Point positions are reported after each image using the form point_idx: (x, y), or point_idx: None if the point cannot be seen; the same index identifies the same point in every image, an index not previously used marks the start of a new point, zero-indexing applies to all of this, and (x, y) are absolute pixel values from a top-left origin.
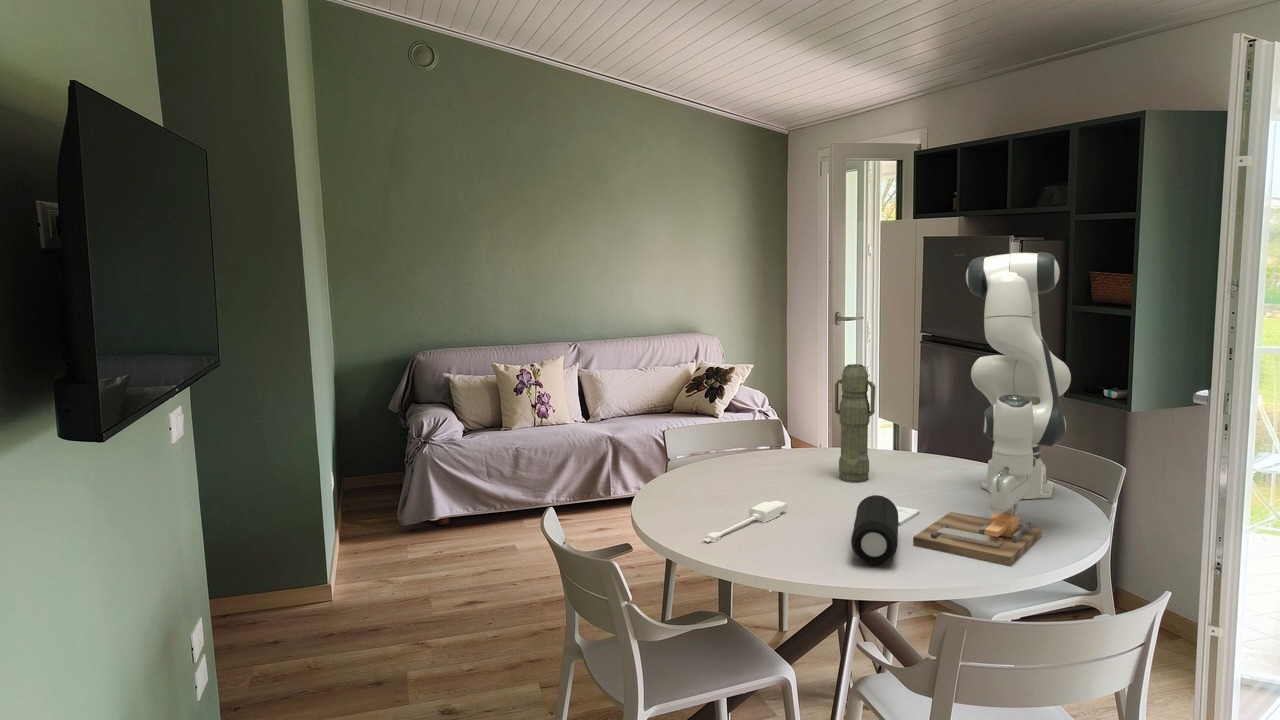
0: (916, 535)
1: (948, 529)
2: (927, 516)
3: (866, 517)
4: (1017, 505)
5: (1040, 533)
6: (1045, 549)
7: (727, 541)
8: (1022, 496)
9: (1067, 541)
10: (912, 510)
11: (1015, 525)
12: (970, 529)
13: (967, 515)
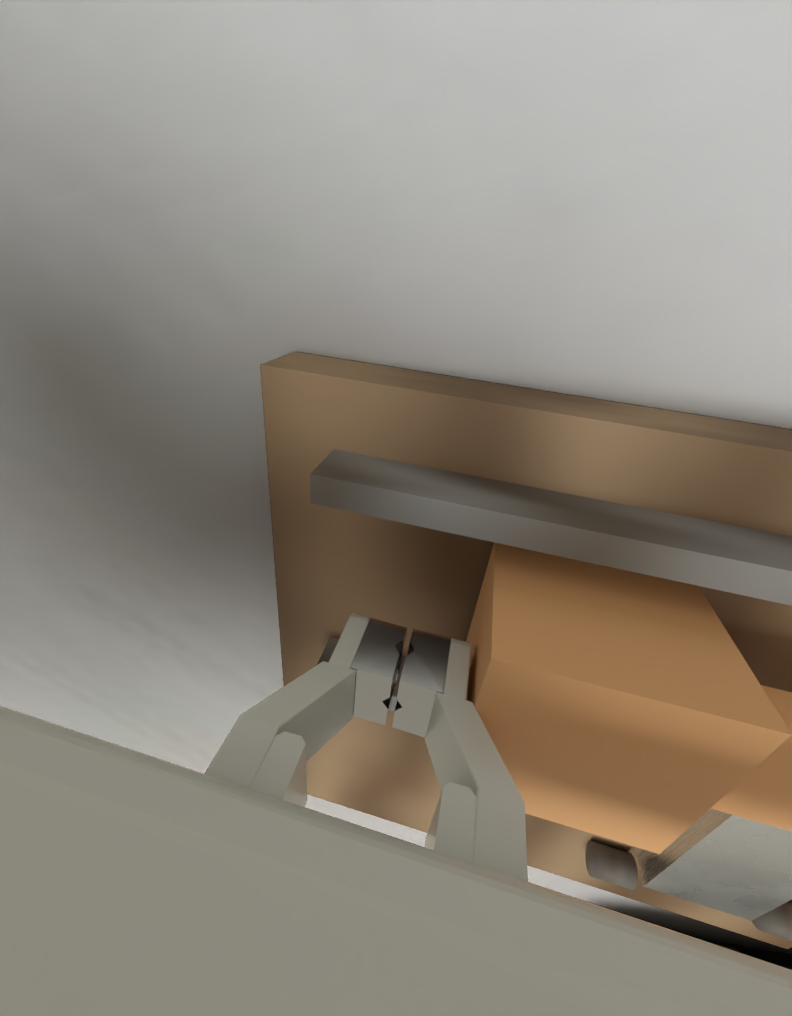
0: (756, 937)
1: (685, 879)
2: (324, 801)
3: None
4: (277, 716)
5: (317, 363)
6: (652, 261)
7: None
8: (131, 806)
9: (287, 78)
10: None
11: (608, 622)
12: None
13: None
